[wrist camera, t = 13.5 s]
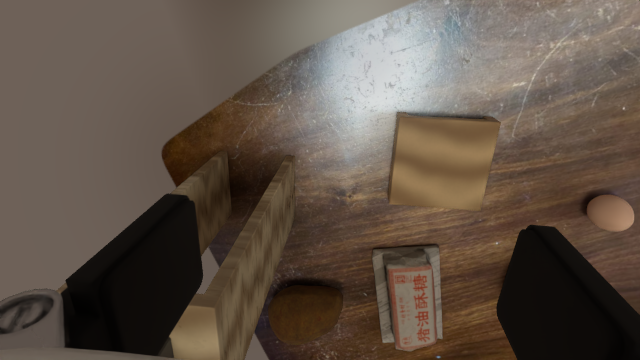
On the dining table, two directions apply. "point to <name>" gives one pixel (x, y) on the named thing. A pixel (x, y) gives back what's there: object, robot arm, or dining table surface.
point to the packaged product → (409, 295)
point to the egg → (610, 213)
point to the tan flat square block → (441, 161)
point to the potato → (304, 312)
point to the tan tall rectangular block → (233, 262)
